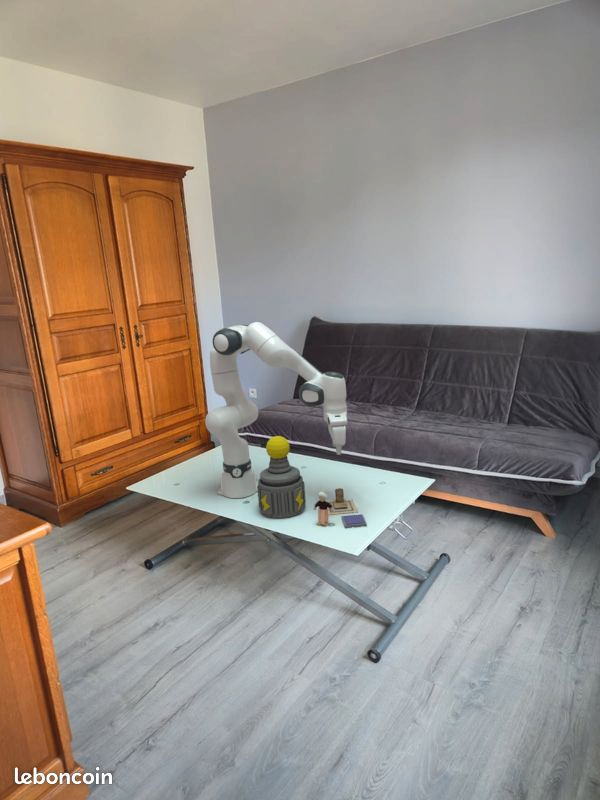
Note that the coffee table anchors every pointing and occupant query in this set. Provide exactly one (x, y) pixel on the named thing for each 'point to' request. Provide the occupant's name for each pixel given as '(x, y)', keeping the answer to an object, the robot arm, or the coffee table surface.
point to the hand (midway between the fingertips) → (336, 450)
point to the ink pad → (354, 521)
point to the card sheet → (350, 509)
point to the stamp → (339, 500)
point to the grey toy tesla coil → (280, 483)
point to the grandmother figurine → (323, 509)
